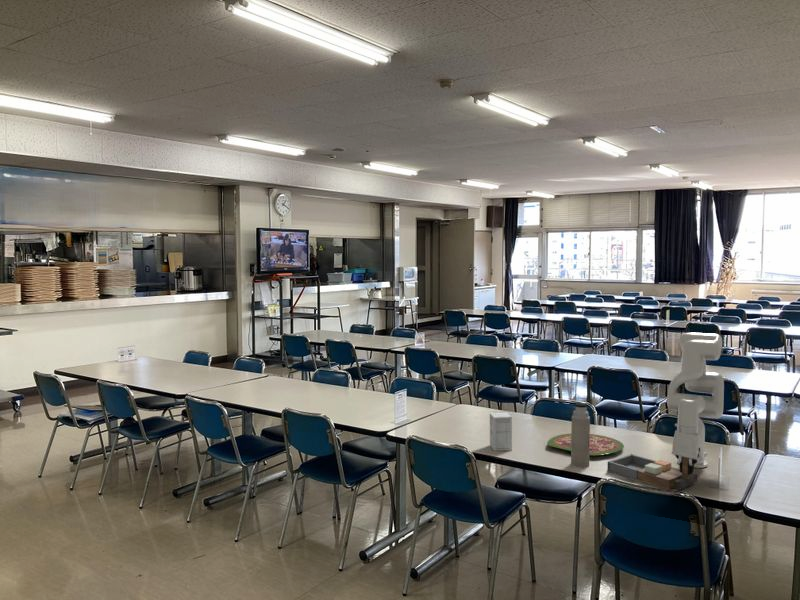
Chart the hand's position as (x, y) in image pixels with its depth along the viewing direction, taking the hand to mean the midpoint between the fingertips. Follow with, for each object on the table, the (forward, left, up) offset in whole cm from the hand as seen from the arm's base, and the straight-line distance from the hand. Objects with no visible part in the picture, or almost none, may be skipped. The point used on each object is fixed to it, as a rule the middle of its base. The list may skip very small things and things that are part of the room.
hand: (686, 472), depth 256 cm
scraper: (0, 0, -5) cm, 5 cm away
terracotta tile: (-3, -12, -2) cm, 13 cm away
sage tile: (+4, -12, -2) cm, 13 cm away
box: (0, -24, -6) cm, 25 cm away
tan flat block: (0, -10, -6) cm, 12 cm away
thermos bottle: (+11, -44, -6) cm, 46 cm away
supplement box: (+21, -84, -6) cm, 87 cm away
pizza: (-14, -59, -7) cm, 61 cm away
